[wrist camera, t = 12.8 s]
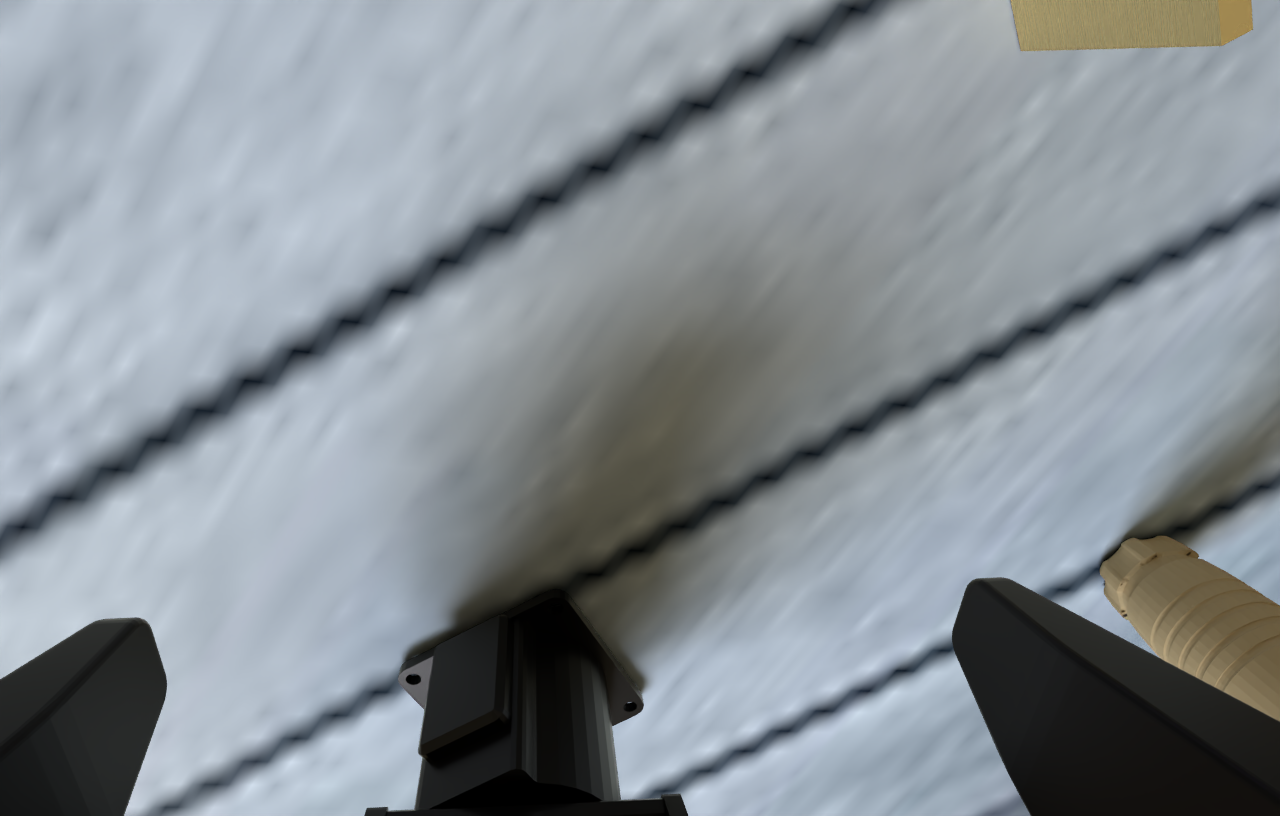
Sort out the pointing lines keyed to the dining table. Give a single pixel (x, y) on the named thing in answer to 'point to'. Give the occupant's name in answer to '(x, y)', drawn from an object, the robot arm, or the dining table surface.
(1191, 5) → the hinge
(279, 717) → the dining table surface
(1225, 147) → the dining table surface
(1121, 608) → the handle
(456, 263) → the dining table surface
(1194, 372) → the dining table surface
